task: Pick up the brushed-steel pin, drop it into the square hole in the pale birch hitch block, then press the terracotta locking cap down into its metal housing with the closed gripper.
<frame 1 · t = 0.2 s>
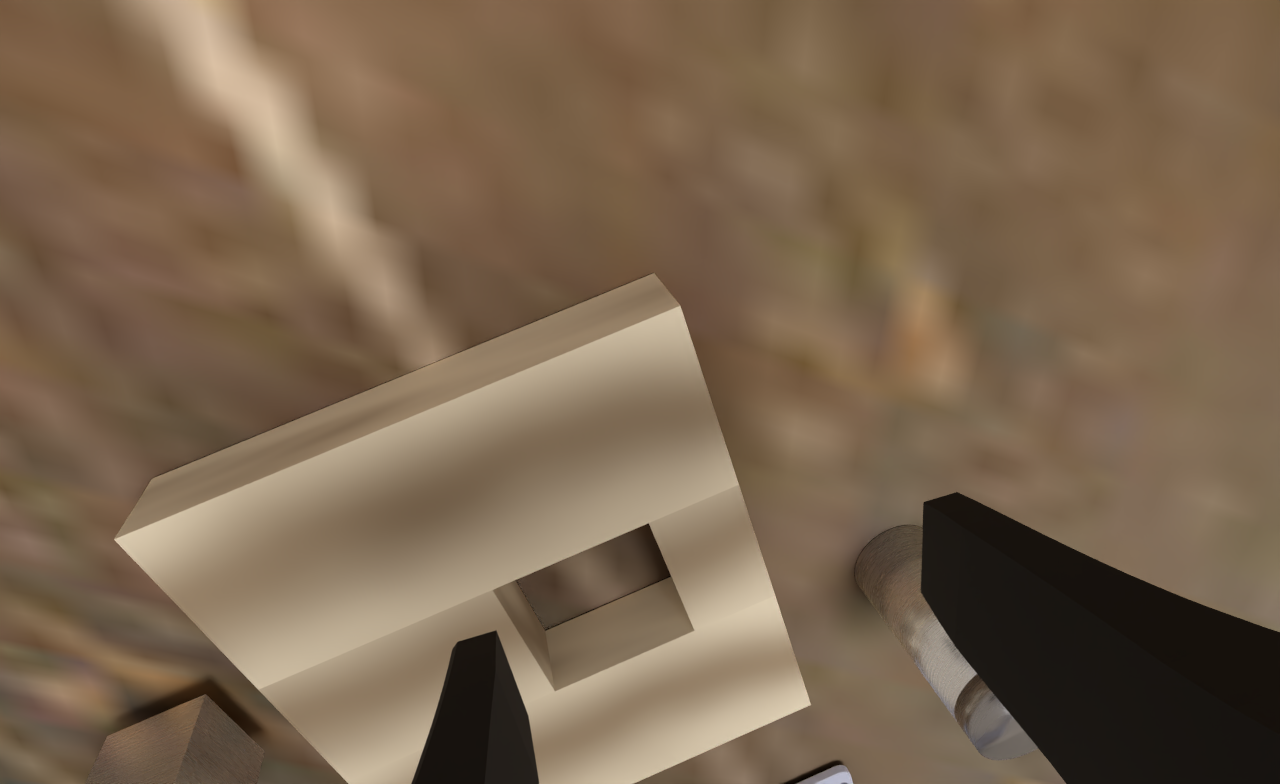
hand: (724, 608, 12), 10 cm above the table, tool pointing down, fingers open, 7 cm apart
plunger housing: (196, 721, 23), on the table
hitch block: (526, 580, 23), on the table
steel pin: (894, 560, 27), on the table
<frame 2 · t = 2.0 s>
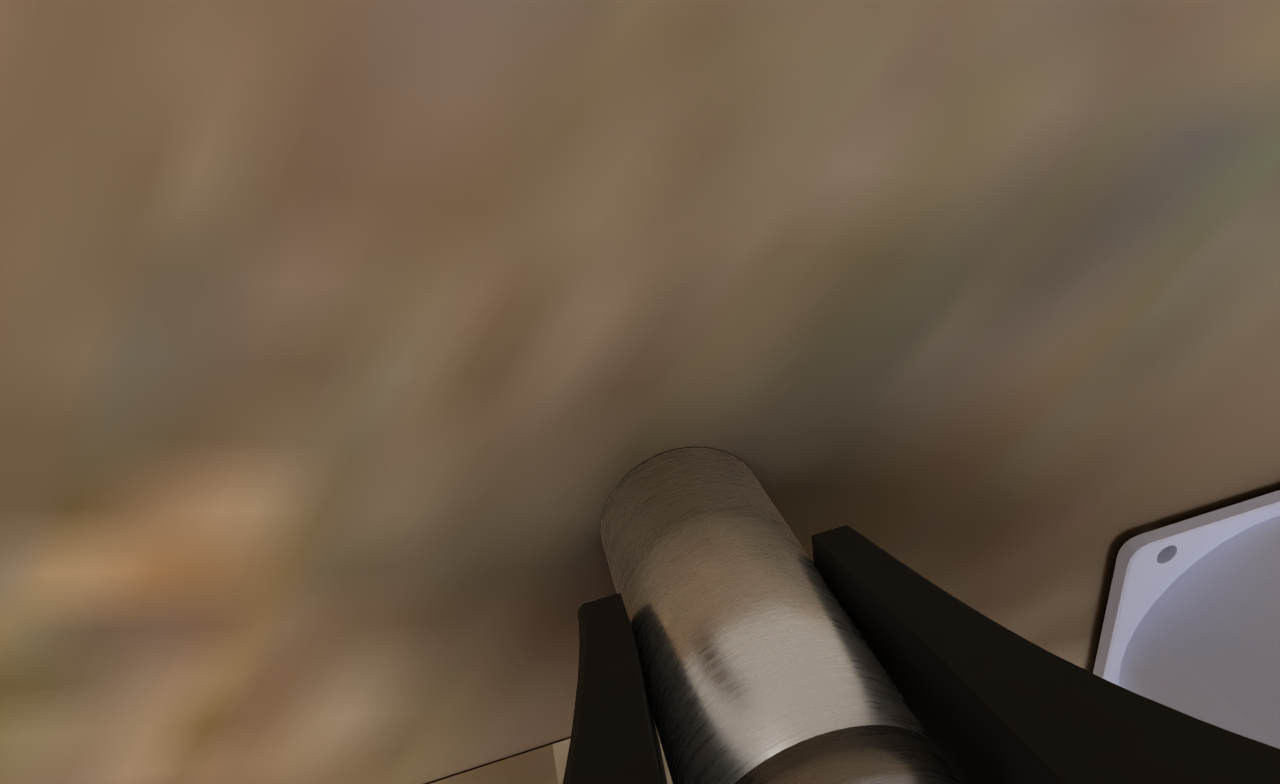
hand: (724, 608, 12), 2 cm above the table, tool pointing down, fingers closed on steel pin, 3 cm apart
steel pin: (682, 519, 14), on the table, touching gripper
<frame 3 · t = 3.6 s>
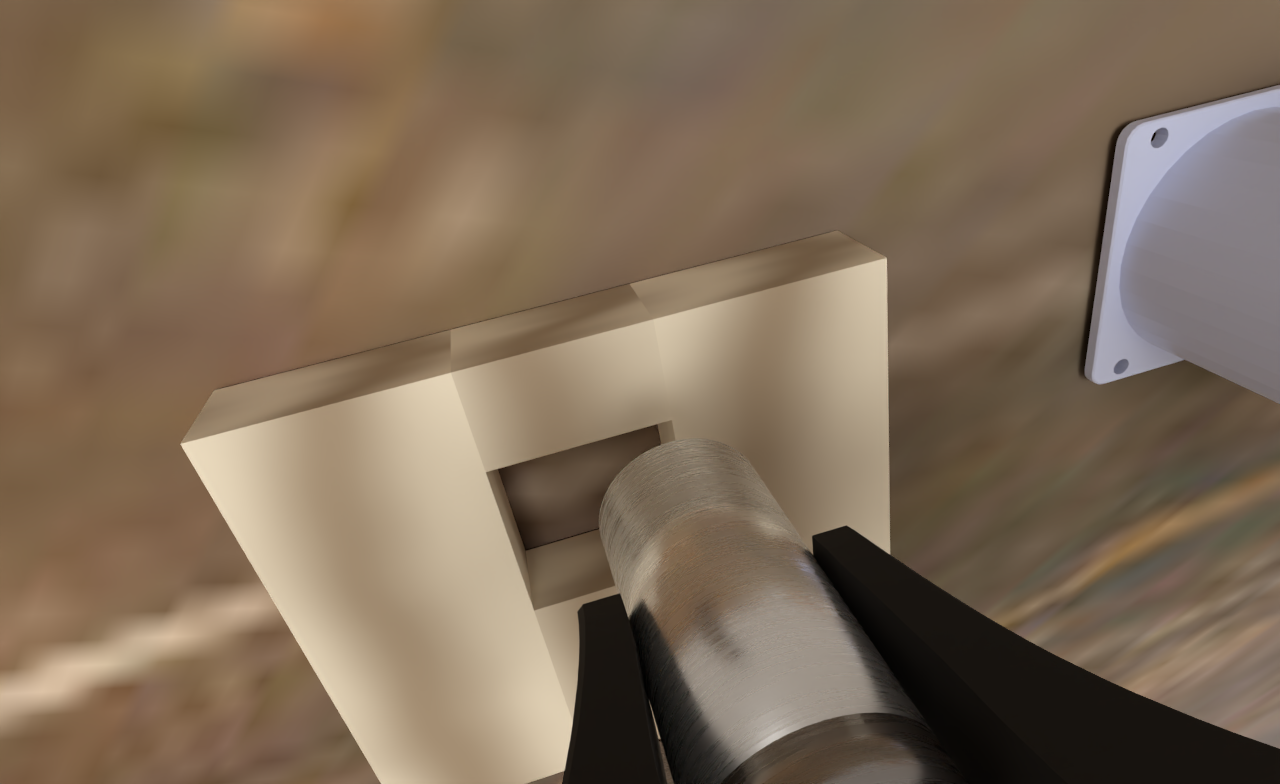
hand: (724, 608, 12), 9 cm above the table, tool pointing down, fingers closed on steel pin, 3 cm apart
hitch block: (598, 521, 22), on the table
steel pin: (681, 511, 14), point 7 cm above the table, touching gripper
when the fingers open (3 cm above the table, at t = 5.2 s): steel pin stays where it is, resting in hitch block.
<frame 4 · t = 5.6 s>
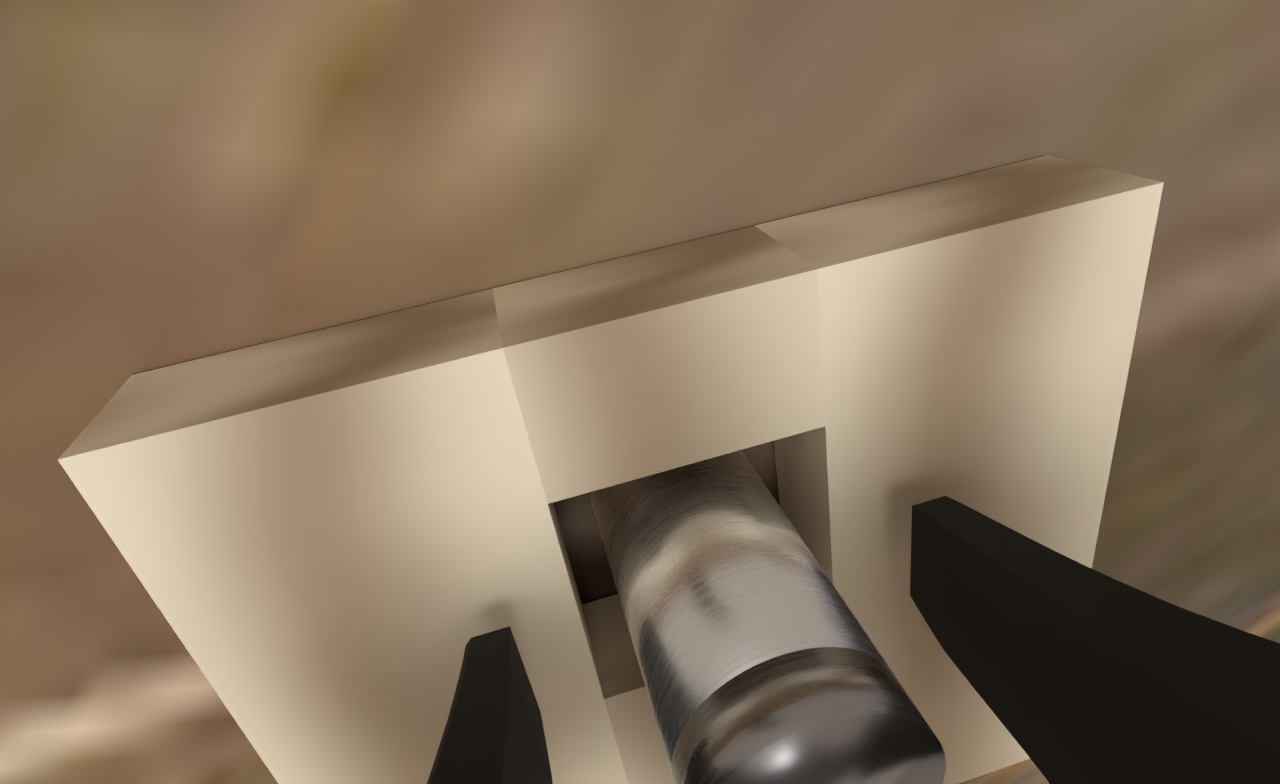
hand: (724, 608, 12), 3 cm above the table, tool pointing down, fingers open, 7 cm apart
hitch block: (682, 563, 16), on the table
steel pin: (668, 483, 15), resting in hitch block
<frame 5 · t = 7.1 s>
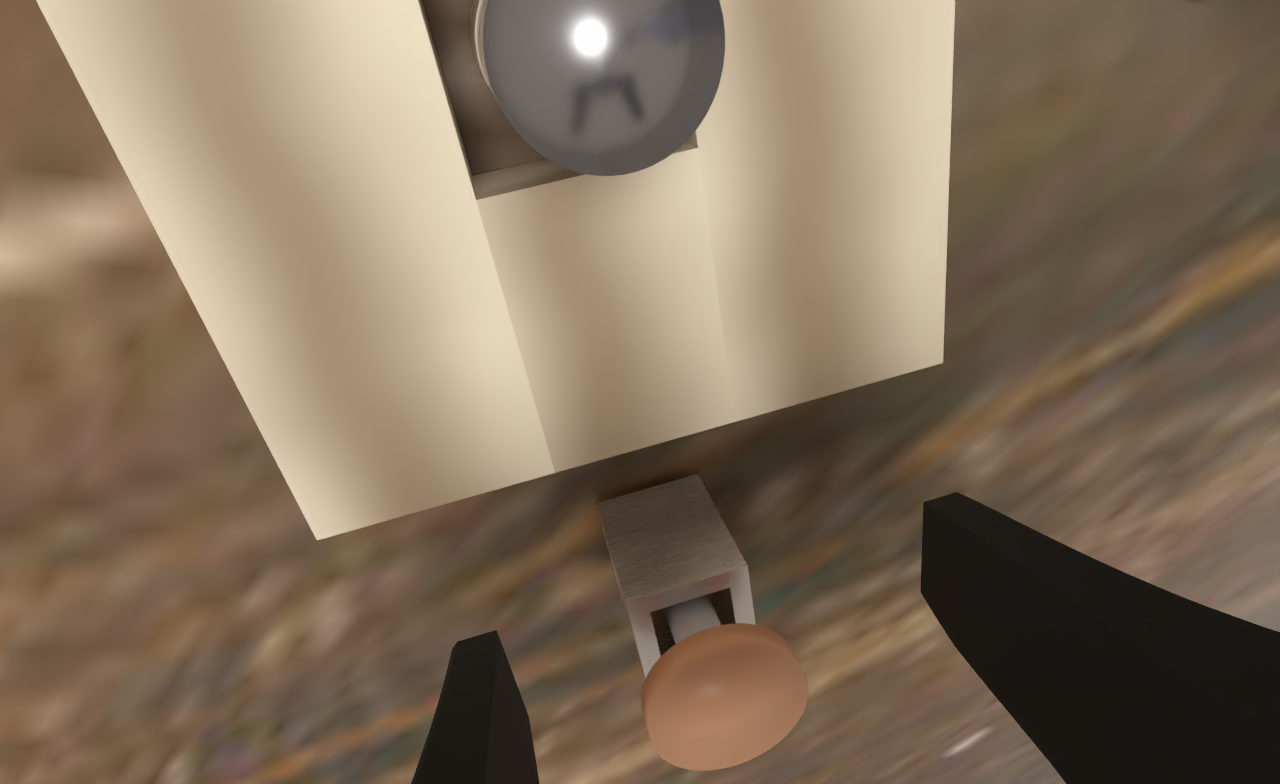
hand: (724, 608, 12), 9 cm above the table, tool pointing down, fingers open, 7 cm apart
plunger housing: (649, 512, 22), on the table
hitch block: (568, 139, 17), on the table
steel pin: (545, 35, 16), resting in hitch block
locking cap: (700, 639, 18), point 5 cm above the table, slide at 0.0 cm
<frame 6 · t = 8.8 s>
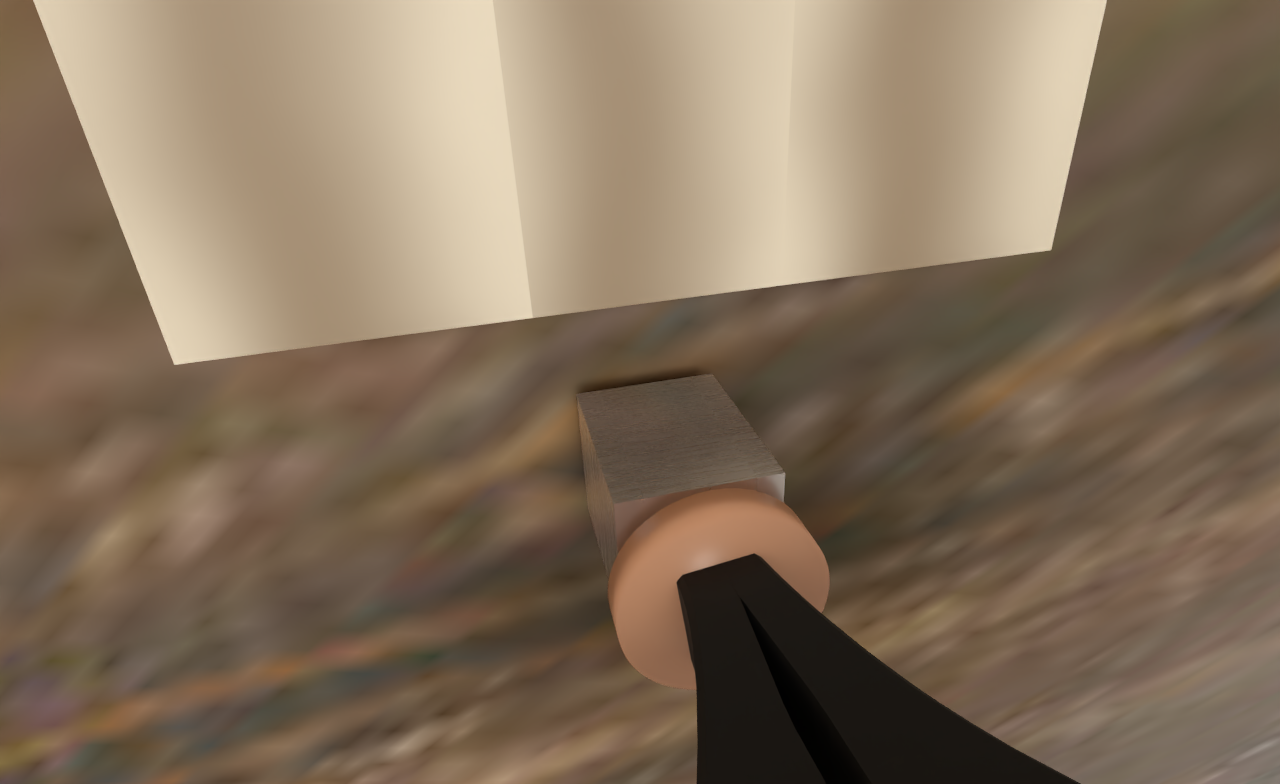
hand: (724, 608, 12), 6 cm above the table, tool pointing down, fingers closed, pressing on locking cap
plunger housing: (640, 425, 17), on the table
locking cap: (688, 528, 14), point 4 cm above the table, slide at 1.2 cm, touching gripper
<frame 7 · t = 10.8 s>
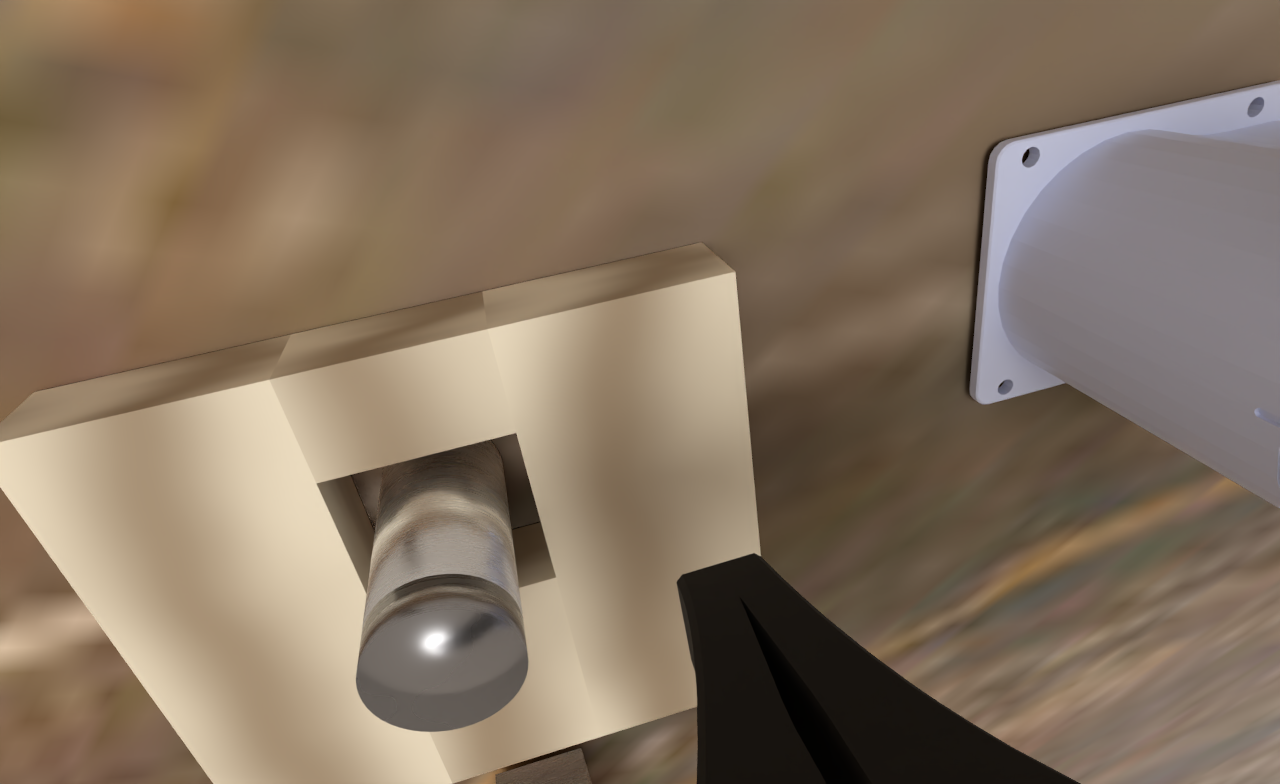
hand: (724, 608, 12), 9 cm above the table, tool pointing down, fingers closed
plunger housing: (545, 767, 26), on the table
hitch block: (464, 534, 21), on the table
steel pin: (444, 473, 20), resting in hitch block
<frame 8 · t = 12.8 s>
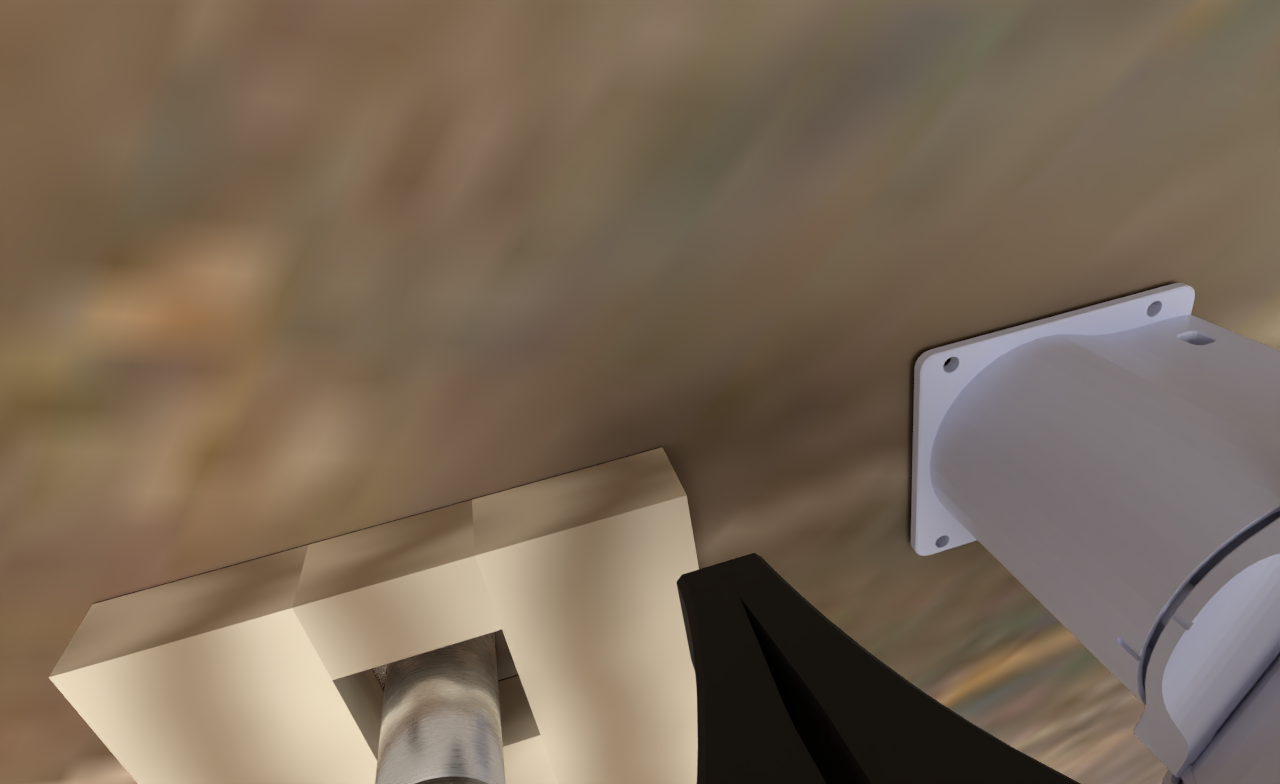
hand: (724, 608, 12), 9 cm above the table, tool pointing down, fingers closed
hitch block: (461, 686, 24), on the table
steel pin: (442, 640, 23), resting in hitch block
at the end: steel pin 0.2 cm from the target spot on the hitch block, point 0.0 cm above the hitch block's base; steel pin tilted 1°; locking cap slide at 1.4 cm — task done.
